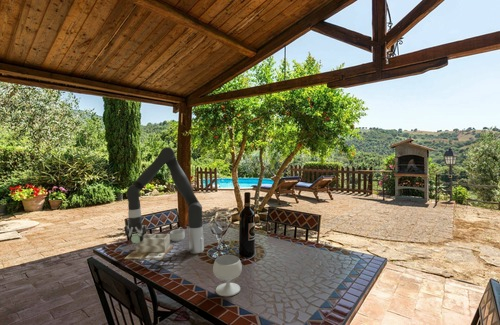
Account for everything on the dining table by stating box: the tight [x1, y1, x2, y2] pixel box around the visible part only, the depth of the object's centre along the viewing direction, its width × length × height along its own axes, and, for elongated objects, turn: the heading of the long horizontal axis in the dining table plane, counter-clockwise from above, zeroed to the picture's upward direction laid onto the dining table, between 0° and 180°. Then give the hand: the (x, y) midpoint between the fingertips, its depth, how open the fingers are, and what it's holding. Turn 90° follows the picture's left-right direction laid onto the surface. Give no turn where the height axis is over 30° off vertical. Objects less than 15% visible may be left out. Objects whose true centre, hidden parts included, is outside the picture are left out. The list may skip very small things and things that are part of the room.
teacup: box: [169, 228, 185, 242], centre depth 194 cm, size 14×11×8 cm
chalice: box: [212, 254, 243, 297], centre depth 121 cm, size 14×14×15 cm
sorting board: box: [123, 233, 176, 260], centre depth 167 cm, size 25×23×10 cm
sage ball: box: [131, 233, 140, 245], centre depth 161 cm, size 6×6×6 cm
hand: (136, 241), depth 161 cm, fingers closed on sage ball, 6 cm apart
